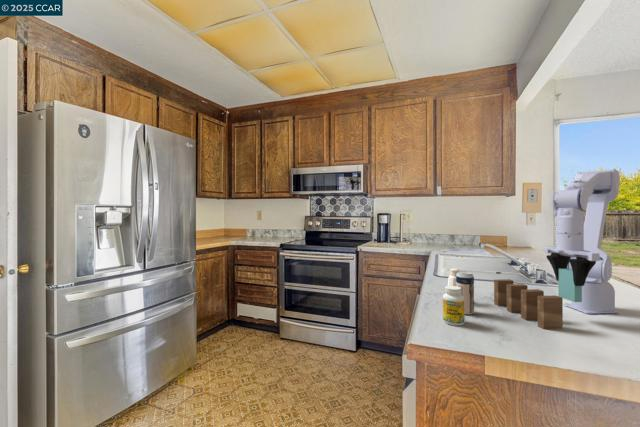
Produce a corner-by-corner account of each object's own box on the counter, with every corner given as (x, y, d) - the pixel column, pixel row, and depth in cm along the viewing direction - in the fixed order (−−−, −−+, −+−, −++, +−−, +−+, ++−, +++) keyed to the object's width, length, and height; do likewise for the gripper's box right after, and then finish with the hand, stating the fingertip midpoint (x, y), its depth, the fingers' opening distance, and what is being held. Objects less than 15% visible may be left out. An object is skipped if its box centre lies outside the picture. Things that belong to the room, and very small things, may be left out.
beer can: (476, 316, 85) (476, 274, 85) (458, 315, 86) (458, 274, 85) (471, 310, 89) (471, 271, 89) (454, 309, 90) (454, 270, 90)
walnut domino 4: (537, 326, 77) (537, 295, 77) (556, 325, 77) (555, 295, 77) (543, 329, 75) (543, 298, 75) (562, 328, 75) (562, 297, 75)
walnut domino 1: (494, 304, 95) (494, 279, 95) (509, 303, 95) (509, 279, 95) (498, 306, 93) (498, 281, 93) (513, 305, 93) (513, 280, 93)
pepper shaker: (461, 305, 94) (461, 271, 94) (444, 302, 97) (443, 269, 97) (465, 301, 98) (465, 268, 98) (448, 298, 101) (448, 266, 101)
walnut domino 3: (521, 317, 83) (520, 289, 83) (538, 317, 83) (538, 289, 83) (526, 320, 81) (526, 291, 81) (543, 319, 81) (543, 291, 81)
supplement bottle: (462, 319, 82) (462, 285, 82) (466, 327, 77) (465, 290, 77) (442, 317, 84) (441, 284, 83) (443, 325, 78) (443, 289, 78)
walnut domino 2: (506, 310, 89) (506, 284, 89) (522, 310, 89) (522, 283, 89) (511, 312, 87) (511, 286, 87) (527, 312, 87) (527, 285, 87)
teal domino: (565, 296, 83) (565, 268, 83) (581, 301, 78) (581, 271, 78) (558, 296, 83) (558, 268, 83) (574, 302, 78) (574, 272, 78)
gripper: (534, 231, 87) (535, 277, 87) (580, 235, 73) (580, 290, 73) (557, 231, 88) (557, 276, 88) (607, 235, 73) (607, 289, 73)
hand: (569, 283), depth 80 cm, fingers closed on teal domino, 5 cm apart
